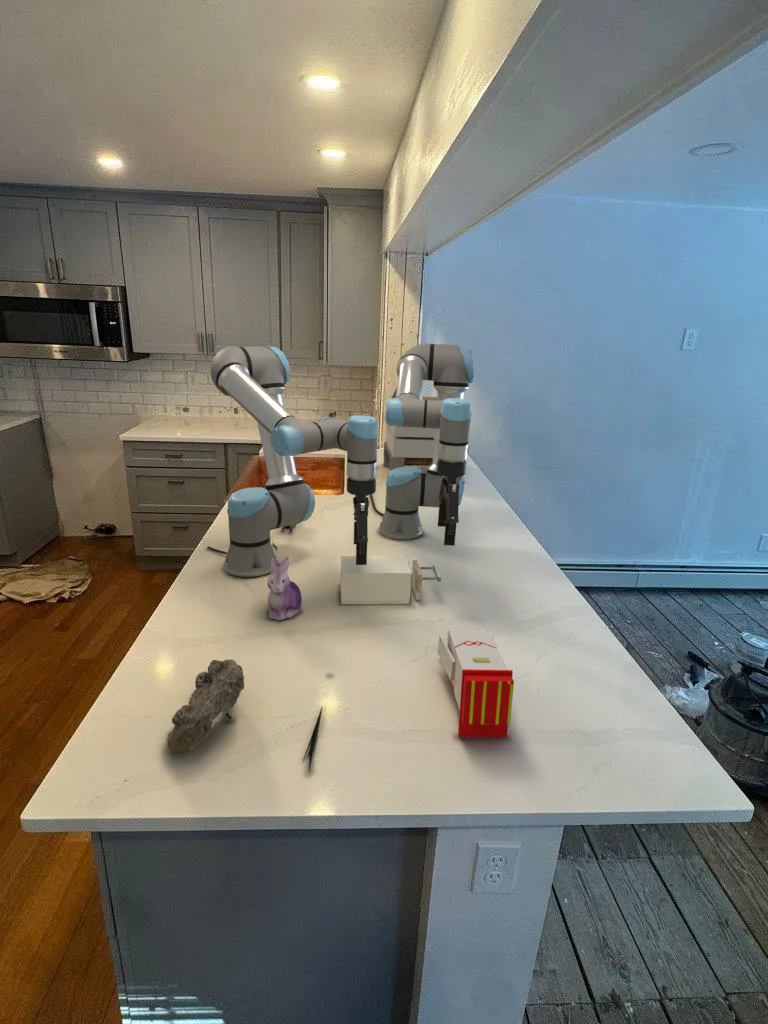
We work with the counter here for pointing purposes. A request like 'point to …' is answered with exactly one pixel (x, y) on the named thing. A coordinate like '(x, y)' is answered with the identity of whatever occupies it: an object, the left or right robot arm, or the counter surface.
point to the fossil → (206, 705)
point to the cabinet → (375, 580)
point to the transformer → (408, 445)
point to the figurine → (282, 592)
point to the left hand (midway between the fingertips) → (359, 553)
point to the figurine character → (288, 527)
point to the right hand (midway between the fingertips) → (445, 535)
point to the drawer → (421, 578)
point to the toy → (478, 682)
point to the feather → (313, 740)
